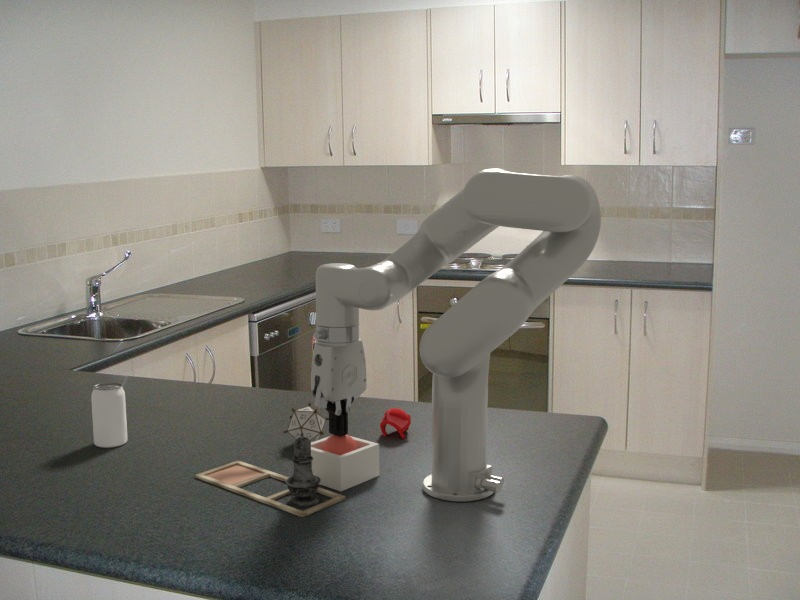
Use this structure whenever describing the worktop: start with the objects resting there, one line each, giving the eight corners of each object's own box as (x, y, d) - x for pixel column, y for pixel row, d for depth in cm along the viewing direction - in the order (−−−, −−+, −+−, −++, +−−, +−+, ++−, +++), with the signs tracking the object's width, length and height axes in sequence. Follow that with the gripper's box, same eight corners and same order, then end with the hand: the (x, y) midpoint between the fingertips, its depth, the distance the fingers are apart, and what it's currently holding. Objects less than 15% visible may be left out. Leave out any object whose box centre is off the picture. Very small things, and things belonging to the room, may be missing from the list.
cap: (404, 428, 179) (417, 407, 183) (378, 416, 180) (391, 395, 184) (401, 450, 185) (414, 429, 188) (376, 438, 186) (389, 418, 190)
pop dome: (365, 467, 161) (364, 433, 160) (340, 477, 156) (340, 442, 155) (339, 459, 165) (339, 426, 164) (315, 468, 160) (314, 434, 159)
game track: (345, 499, 151) (345, 496, 150) (302, 517, 143) (302, 514, 143) (238, 462, 168) (238, 460, 168) (195, 477, 161) (195, 474, 161)
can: (133, 443, 180) (130, 385, 178) (104, 450, 176) (100, 391, 174) (117, 436, 185) (114, 380, 183) (88, 443, 180) (84, 386, 178)
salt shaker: (328, 498, 151) (326, 430, 149) (306, 510, 146) (304, 439, 144) (300, 491, 154) (299, 424, 152) (278, 502, 149) (276, 434, 147)
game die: (305, 458, 182) (312, 412, 186) (334, 452, 176) (340, 405, 181) (271, 445, 176) (279, 398, 181) (299, 439, 171) (307, 390, 175)
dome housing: (379, 475, 161) (379, 443, 160) (340, 491, 154) (340, 458, 153) (339, 463, 168) (339, 432, 167) (301, 478, 160) (300, 446, 159)
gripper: (322, 343, 149) (323, 448, 152) (381, 330, 160) (381, 428, 163) (291, 337, 153) (293, 439, 156) (351, 325, 165) (351, 420, 168)
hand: (338, 433), depth 160 cm, fingers closed
